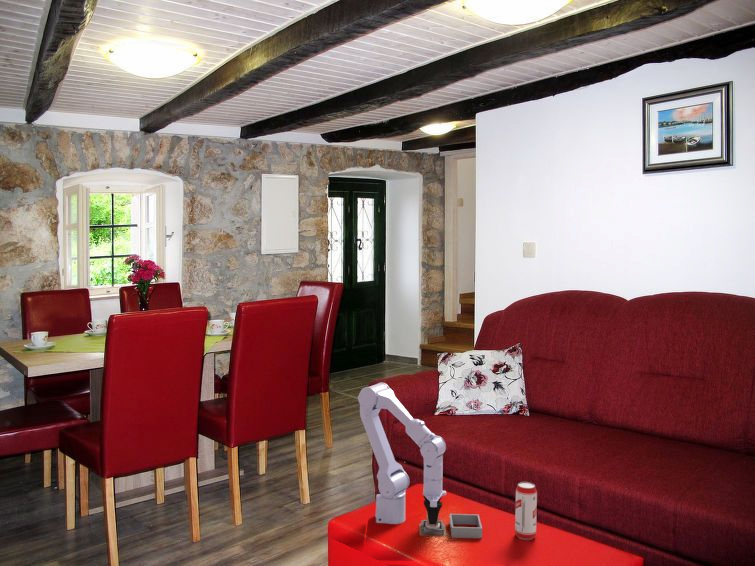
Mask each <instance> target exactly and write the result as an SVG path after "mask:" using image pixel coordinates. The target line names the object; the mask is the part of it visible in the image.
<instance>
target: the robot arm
mask: <svg viewBox="0 0 755 566" xmlns="http://www.w3.org/2000/svg"><path fill="white" fill-rule="evenodd" d="M357 401H358V403H359V416H360V419H361V422H362V425H363V428H364V430H365V433H366V435H367V438H368V441H369V444H370V446H371V448H372V452H373V454H374V457H375V460H376V462H377V465H378V472H377V474H376V479H377V480H378V481H377V482H378V485H377V486H378V487H377V488H378V490H379V493H378V494H376V497H375V498H376V499H375V500H376V501H375V515H374V517H375V523H377V524H390V525H399V524H403V523H404V522H405V521H406V493H407V489H408V488H409V486H410V483H411V482H410V477H409V475H408V474H407V472H406V471H405V470H404V468H403V466H402V465H401V464H400V463H399V462H397V461H396V460H395V459H396V458H395V456H394V453H393V451H392V449H391V446H390V443H389V440H388V438H387V435H386V433H385V430H384V427H383V425H382V421H381V419H380V416H379V413H380V412H381V410H382V409H384V410H388V411H389V412H390V413H391V414H392V415H393V416H394V417H395V418H396V419H397V420H399V422H400V423H401V424H403V425H404V426H405V433H406V434H407V436H408V437H410V438H411V439H412V441H413V442H415V444H416V445H417V446H418V447H419V448H420V449H419V451H420V455H421V456H422V458H423V490H422V496H423V498H424V500H423V505H424V508H425V510H426V515H427V514H428V520H429V524H436V523H437V519H438V514H439V515H440V511H441V509H442V507H443V501H441V499H442V497H443V496H447V491H446V490H443V478H444V477H443V469H444V468H443V467H444V465H443V464H444V463H443V462H444V461H443V459H444V453H445V452H446V450H447V445H446V441H445V440H444V438H443V437H441V436H440V435H436V434H435V433H434V432H432V431H431V430H430V429H429V428H428V427H427V426H426V422H425V421H423V420H421V419H419V418H413V416H412V415H411V414H410V413H409V411H408V410H407V409H406V408H405V406H404V405H403V404H402V403H401V402H400V401H399V399H398V398H397V397H396V395H395V392H394V390H392V388H390V386H389V385H388V384H387V383H385V382H377V383H376V384H374V385H371V386H366V387H363V388H362V389H361V390H360V392H359V394H358V396H357Z"/></svg>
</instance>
